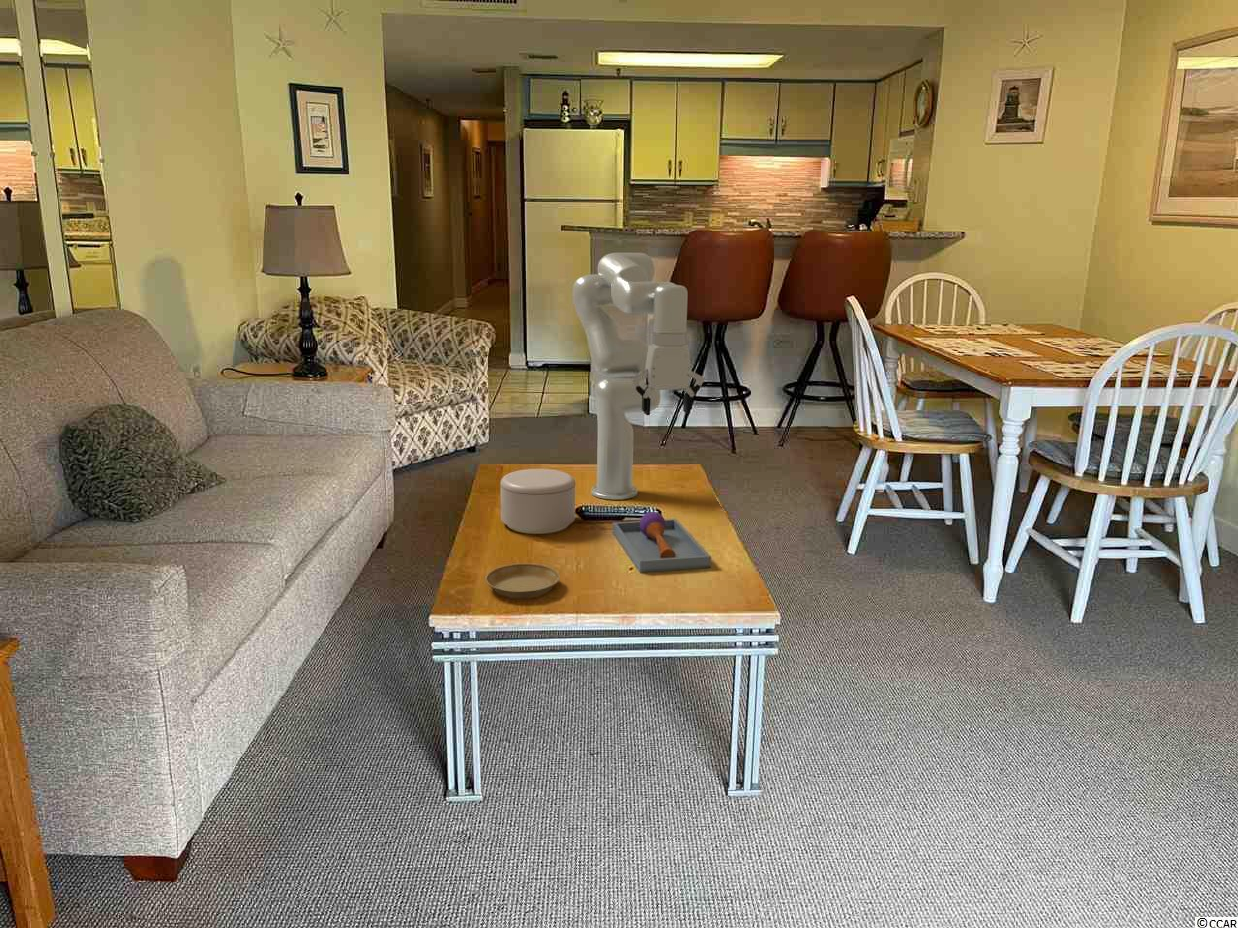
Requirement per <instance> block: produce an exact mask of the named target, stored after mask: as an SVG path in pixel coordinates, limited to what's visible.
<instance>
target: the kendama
mask: <svg viewBox="0 0 1238 928" xmlns="http://www.w3.org/2000/svg"><path fill="white" fill-rule="evenodd" d="M665 520H666V519H665V518H664V516H663V515H661V513H659V512H656V511H649V512H647V513H645V514H644V515H643V516H642V517H641V519H640V520H639V521H640V529H641V531H642V533H643V534H644V535H645V536H647V537H650V538H652V539H657V544H658V549H659V553H660V558H675V552H674V551H673V550H672V548H671V547H670V546H669V545H668V544H667V543H666V541H665V540H664V539H663V538H662V537H661V536H662V535H663V533H664V530H665V526H666V523H665Z"/></svg>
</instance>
